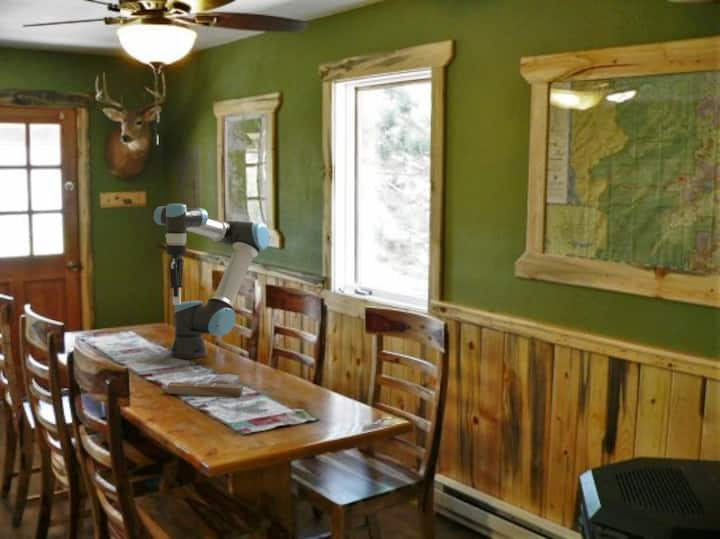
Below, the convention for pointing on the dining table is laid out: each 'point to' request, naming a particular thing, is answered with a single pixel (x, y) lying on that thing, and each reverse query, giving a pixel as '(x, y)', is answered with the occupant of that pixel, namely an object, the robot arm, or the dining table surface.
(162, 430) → the dining table surface
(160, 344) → the dining table surface
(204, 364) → the dining table surface
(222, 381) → the stone block
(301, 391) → the dining table surface
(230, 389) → the tan wooden bar
